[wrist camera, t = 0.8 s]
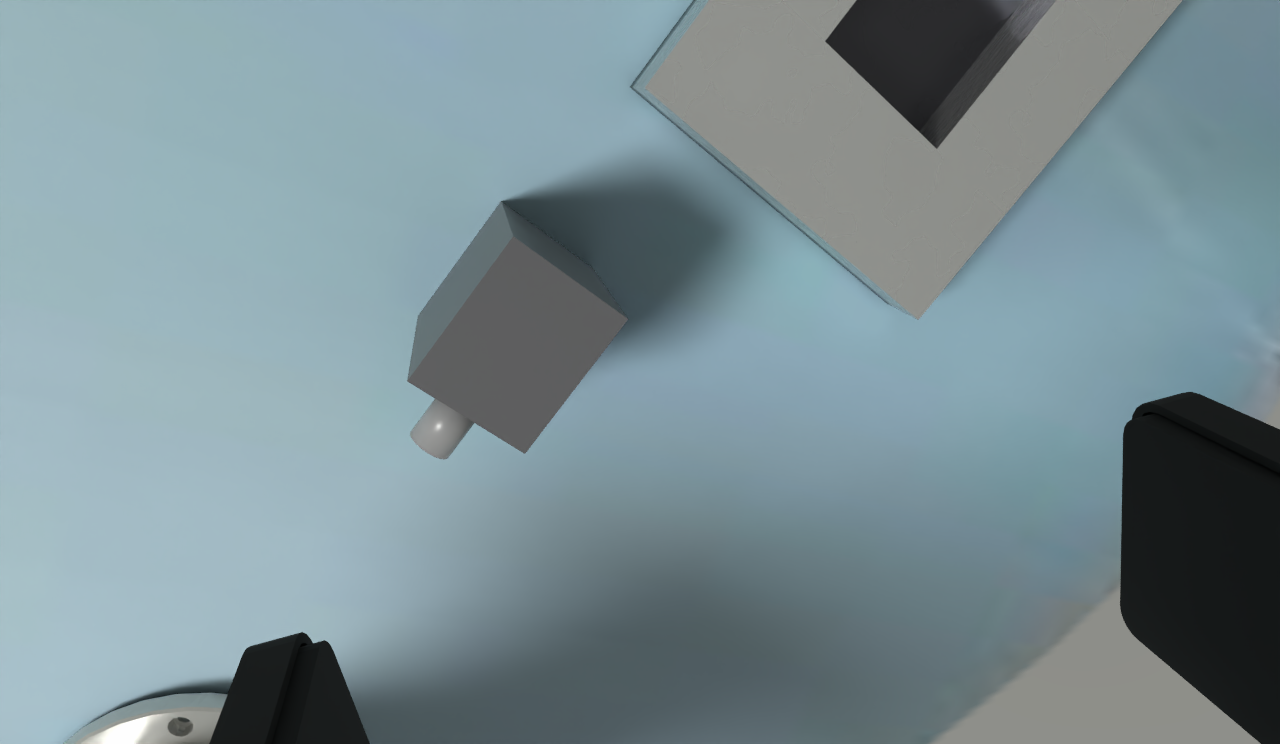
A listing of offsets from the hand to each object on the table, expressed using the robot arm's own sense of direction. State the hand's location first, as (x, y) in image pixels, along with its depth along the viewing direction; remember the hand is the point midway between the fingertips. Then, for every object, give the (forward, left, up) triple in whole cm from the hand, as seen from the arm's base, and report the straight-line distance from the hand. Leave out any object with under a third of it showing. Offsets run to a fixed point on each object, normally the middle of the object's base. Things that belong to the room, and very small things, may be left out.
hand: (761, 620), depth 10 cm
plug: (-2, +2, -23) cm, 23 cm away
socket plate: (+8, -12, -22) cm, 27 cm away
